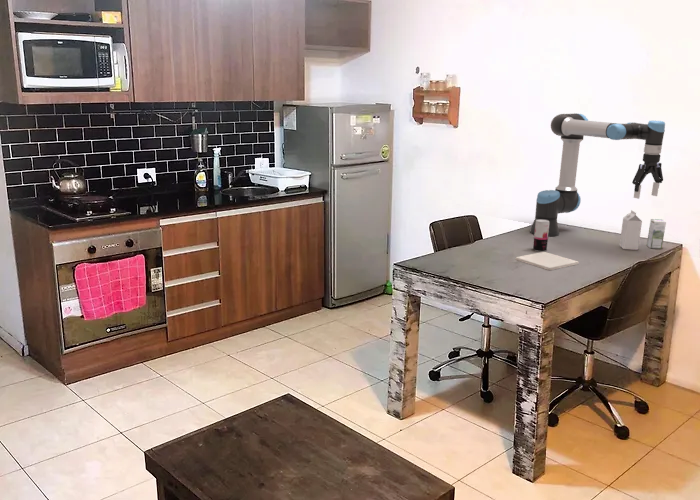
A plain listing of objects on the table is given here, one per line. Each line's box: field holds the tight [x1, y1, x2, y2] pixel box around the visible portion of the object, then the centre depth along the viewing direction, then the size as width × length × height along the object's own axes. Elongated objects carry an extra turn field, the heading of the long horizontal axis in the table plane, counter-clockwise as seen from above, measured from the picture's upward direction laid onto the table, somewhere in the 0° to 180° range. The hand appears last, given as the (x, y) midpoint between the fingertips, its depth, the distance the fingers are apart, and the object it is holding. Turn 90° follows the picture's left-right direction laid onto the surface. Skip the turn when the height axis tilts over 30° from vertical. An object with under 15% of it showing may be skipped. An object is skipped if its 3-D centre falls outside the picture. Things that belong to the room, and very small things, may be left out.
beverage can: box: [532, 219, 549, 253], centre depth 319 cm, size 7×6×15 cm
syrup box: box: [646, 218, 667, 250], centre depth 329 cm, size 6×6×14 cm
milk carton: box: [619, 209, 643, 251], centre depth 326 cm, size 7×7×19 cm
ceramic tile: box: [515, 251, 579, 271], centre depth 301 cm, size 20×20×1 cm
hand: (645, 196), depth 316 cm, fingers open, 13 cm apart
